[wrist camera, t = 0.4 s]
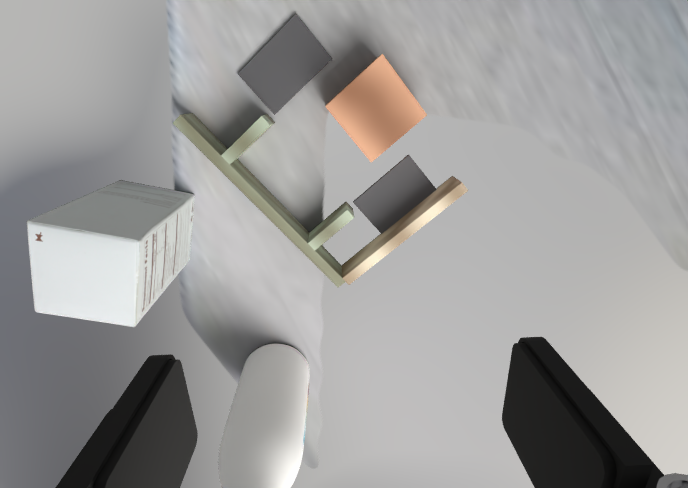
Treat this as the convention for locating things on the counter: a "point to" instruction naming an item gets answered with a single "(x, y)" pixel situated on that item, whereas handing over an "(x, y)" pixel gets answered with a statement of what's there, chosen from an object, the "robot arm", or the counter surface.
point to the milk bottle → (266, 421)
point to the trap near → (285, 64)
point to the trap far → (395, 194)
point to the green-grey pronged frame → (339, 218)
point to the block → (376, 108)
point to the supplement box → (110, 252)
